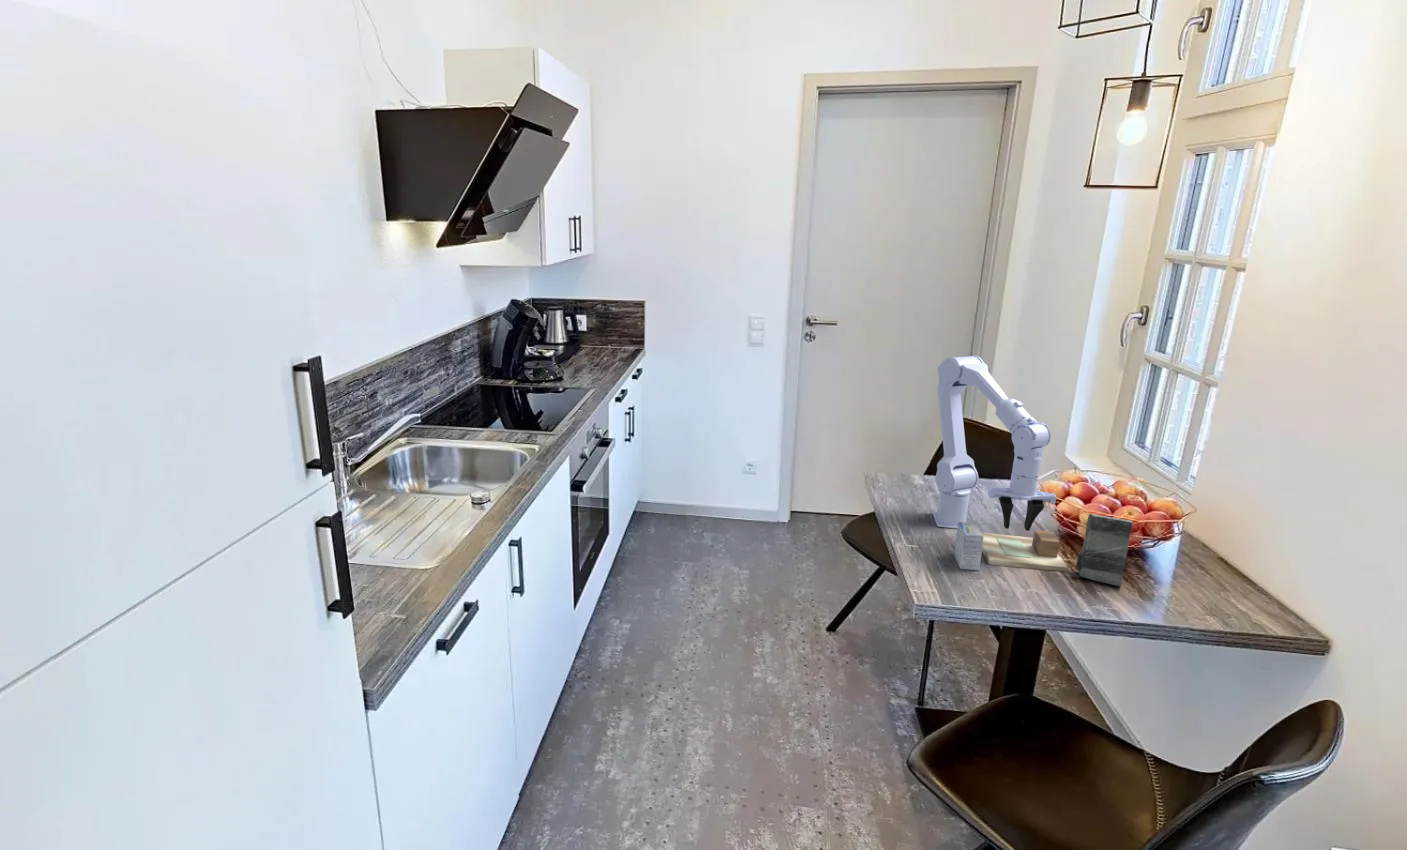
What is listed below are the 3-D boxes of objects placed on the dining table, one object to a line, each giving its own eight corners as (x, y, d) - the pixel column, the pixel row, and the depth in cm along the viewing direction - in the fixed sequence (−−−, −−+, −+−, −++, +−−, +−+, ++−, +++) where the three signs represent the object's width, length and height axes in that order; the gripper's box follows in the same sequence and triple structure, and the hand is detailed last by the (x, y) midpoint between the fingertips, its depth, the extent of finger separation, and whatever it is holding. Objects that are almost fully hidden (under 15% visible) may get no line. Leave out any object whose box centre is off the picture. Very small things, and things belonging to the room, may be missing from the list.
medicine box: (979, 571, 157) (984, 536, 154) (958, 569, 157) (963, 534, 155) (972, 556, 164) (977, 522, 162) (953, 554, 165) (957, 520, 163)
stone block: (1075, 573, 157) (1074, 576, 153) (1086, 511, 157) (1086, 512, 153) (1120, 584, 153) (1120, 587, 148) (1132, 520, 153) (1133, 521, 148)
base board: (975, 537, 175) (976, 531, 175) (1046, 544, 172) (1047, 538, 172) (988, 565, 160) (989, 558, 159) (1067, 573, 157) (1068, 566, 156)
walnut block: (1031, 545, 168) (1034, 530, 167) (1049, 547, 167) (1052, 531, 166) (1038, 555, 162) (1041, 540, 161) (1056, 557, 161) (1059, 542, 160)
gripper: (996, 476, 158) (987, 531, 162) (1063, 482, 156) (1053, 538, 159) (989, 467, 165) (981, 520, 169) (1054, 472, 163) (1045, 526, 166)
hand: (1016, 528), depth 165 cm, fingers open, 4 cm apart
